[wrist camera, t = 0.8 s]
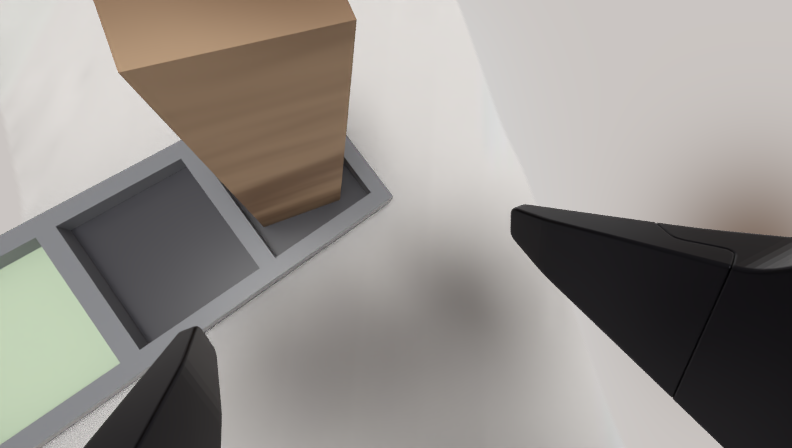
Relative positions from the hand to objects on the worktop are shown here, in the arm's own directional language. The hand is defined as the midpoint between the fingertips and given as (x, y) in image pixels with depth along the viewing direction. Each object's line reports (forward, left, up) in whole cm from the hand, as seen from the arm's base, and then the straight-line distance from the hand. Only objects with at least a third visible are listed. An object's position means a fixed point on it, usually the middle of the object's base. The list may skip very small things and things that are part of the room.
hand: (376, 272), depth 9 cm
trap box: (+2, +11, -13) cm, 17 cm away
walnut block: (+7, +4, -12) cm, 15 cm away
